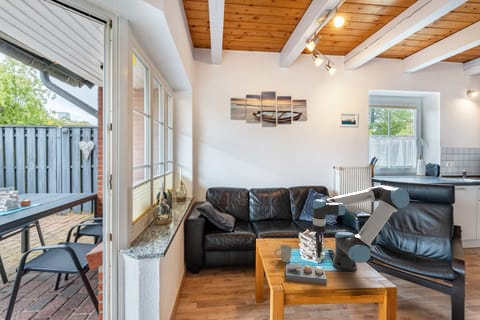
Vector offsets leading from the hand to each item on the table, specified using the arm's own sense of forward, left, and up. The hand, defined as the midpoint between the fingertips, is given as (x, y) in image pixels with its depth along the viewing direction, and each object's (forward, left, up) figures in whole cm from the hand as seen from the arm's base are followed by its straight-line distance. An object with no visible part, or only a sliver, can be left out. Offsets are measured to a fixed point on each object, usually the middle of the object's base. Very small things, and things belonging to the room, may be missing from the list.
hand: (318, 261), depth 143 cm
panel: (+8, 0, -10) cm, 13 cm away
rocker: (+15, 0, -5) cm, 15 cm away
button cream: (0, 0, -7) cm, 7 cm away
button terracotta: (+7, 0, -7) cm, 10 cm away
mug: (+23, -19, -10) cm, 31 cm away
